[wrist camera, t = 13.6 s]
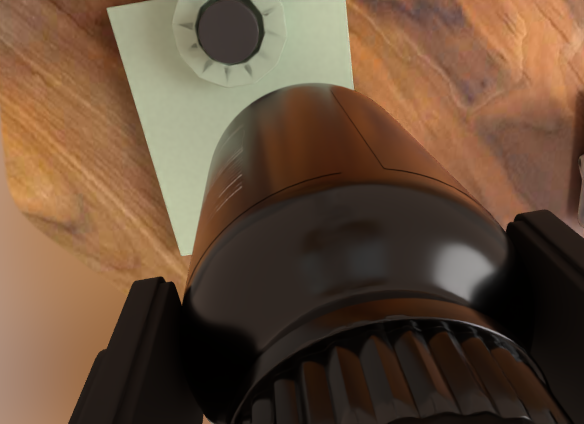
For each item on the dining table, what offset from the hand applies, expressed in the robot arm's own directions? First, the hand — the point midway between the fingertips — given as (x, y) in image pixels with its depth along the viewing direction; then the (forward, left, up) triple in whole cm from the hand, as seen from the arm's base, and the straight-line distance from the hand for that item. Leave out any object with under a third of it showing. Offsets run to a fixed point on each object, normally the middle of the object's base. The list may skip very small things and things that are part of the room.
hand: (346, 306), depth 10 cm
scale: (+2, -2, -22) cm, 22 cm away
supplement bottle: (0, 0, -7) cm, 7 cm away
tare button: (-4, -3, -19) cm, 20 cm away
